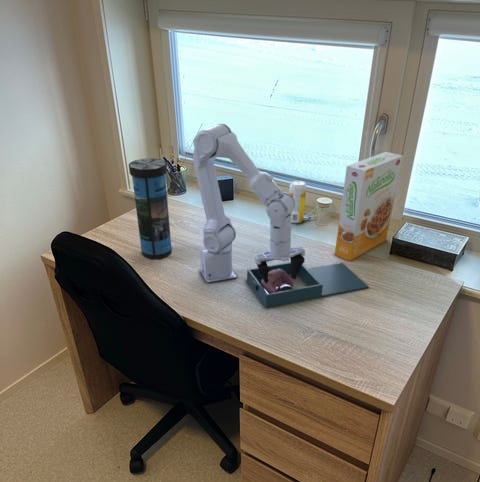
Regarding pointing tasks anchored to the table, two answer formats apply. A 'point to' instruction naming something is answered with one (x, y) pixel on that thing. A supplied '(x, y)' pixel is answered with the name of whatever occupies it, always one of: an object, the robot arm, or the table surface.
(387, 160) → the cereal box
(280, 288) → the silver plate
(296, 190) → the beer can
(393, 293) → the table surface
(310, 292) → the box
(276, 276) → the video game controller
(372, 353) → the table surface
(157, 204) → the advertising column
